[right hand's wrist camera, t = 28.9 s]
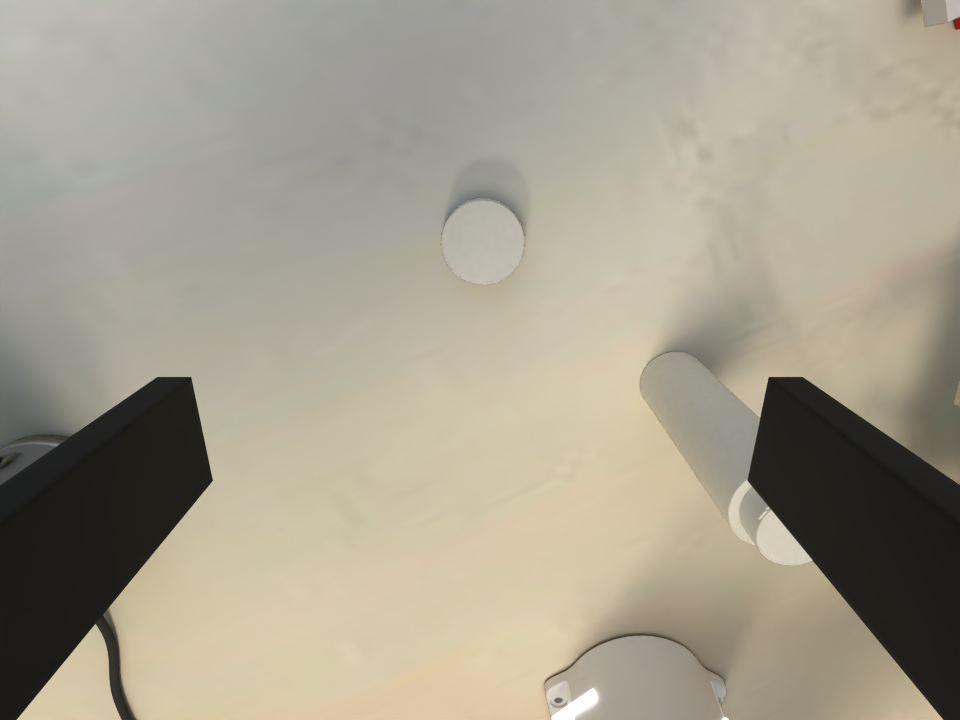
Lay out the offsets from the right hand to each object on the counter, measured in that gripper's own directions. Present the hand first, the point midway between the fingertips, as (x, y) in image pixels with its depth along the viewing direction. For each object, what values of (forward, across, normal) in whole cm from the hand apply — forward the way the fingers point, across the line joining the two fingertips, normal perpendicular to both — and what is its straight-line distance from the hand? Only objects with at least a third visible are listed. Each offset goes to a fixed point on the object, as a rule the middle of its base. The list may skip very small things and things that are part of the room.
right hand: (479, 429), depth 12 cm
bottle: (+29, +16, -11) cm, 35 cm away
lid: (+28, 0, 0) cm, 28 cm away
